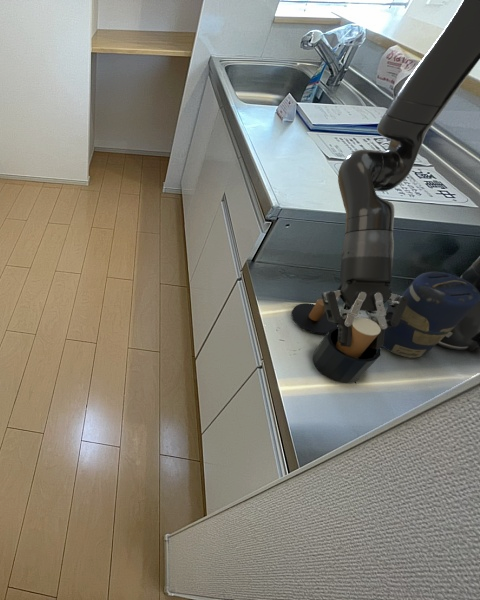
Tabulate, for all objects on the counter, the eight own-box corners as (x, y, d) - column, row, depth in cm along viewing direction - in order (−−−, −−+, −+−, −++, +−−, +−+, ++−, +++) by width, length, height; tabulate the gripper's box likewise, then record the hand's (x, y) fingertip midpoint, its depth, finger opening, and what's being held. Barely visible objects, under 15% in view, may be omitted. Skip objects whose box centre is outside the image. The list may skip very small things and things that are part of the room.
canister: (433, 363, 71) (502, 301, 58) (381, 357, 73) (437, 296, 60) (412, 328, 78) (470, 266, 65) (364, 324, 79) (411, 263, 67)
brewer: (363, 359, 73) (382, 336, 68) (358, 390, 68) (379, 368, 63) (316, 342, 77) (331, 319, 72) (308, 370, 72) (324, 348, 67)
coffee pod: (360, 349, 70) (381, 322, 64) (357, 364, 67) (379, 338, 61) (335, 340, 71) (353, 313, 66) (331, 354, 69) (350, 328, 63)
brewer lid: (338, 315, 82) (350, 297, 78) (332, 342, 77) (345, 323, 72) (295, 301, 86) (304, 283, 82) (286, 325, 81) (296, 307, 76)
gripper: (336, 252, 63) (329, 346, 63) (426, 256, 60) (419, 353, 60) (314, 258, 70) (309, 342, 70) (394, 261, 68) (388, 348, 68)
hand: (360, 347), depth 65 cm, fingers closed on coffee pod, 4 cm apart
